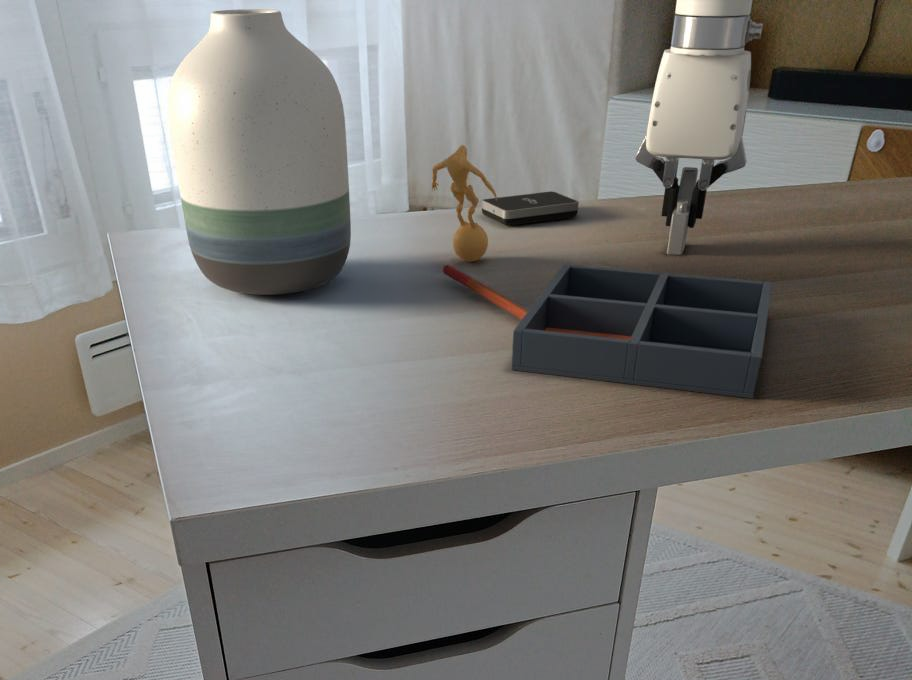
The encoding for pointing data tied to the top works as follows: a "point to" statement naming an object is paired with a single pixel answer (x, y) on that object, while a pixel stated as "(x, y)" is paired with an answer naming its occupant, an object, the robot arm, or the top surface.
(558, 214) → the external hard drive
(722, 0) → the robot arm
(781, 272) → the top surface
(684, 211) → the lighter
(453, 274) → the pencil
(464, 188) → the figurine
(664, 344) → the grid
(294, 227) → the vase
